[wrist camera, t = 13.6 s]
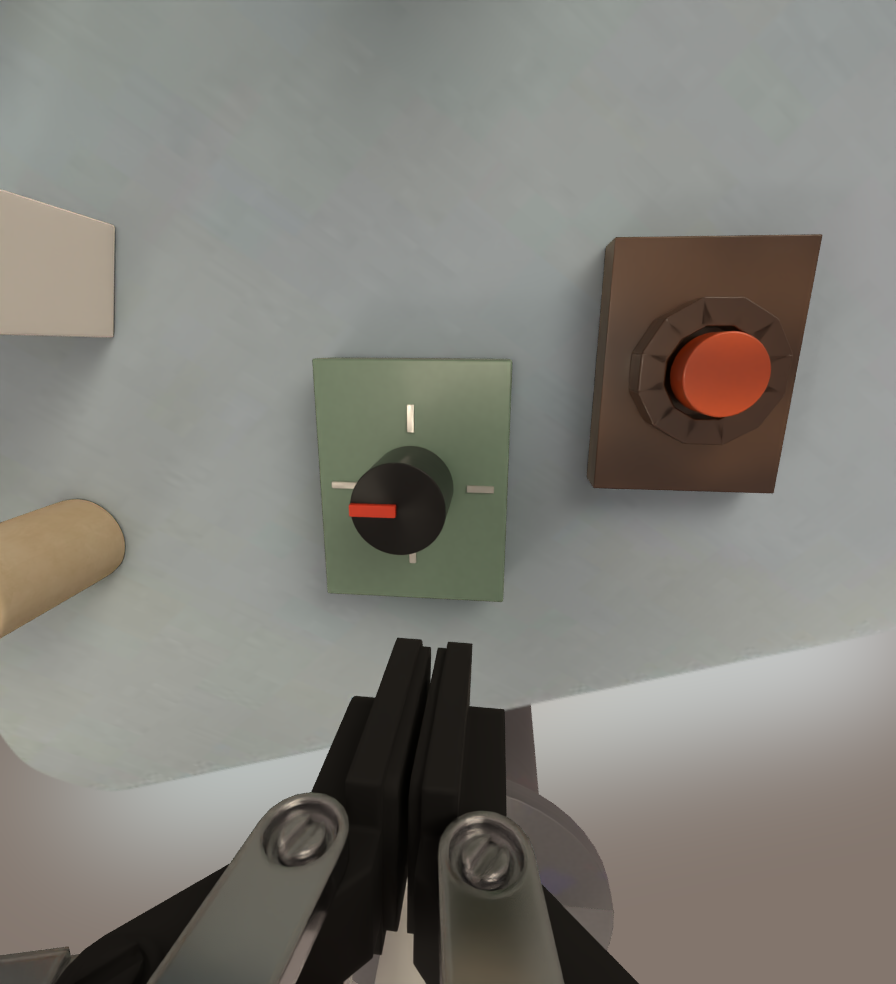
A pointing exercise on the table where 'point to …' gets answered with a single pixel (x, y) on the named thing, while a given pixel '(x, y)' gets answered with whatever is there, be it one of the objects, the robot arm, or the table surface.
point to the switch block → (660, 336)
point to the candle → (54, 558)
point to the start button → (720, 373)
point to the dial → (402, 501)
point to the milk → (54, 271)
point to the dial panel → (430, 425)
